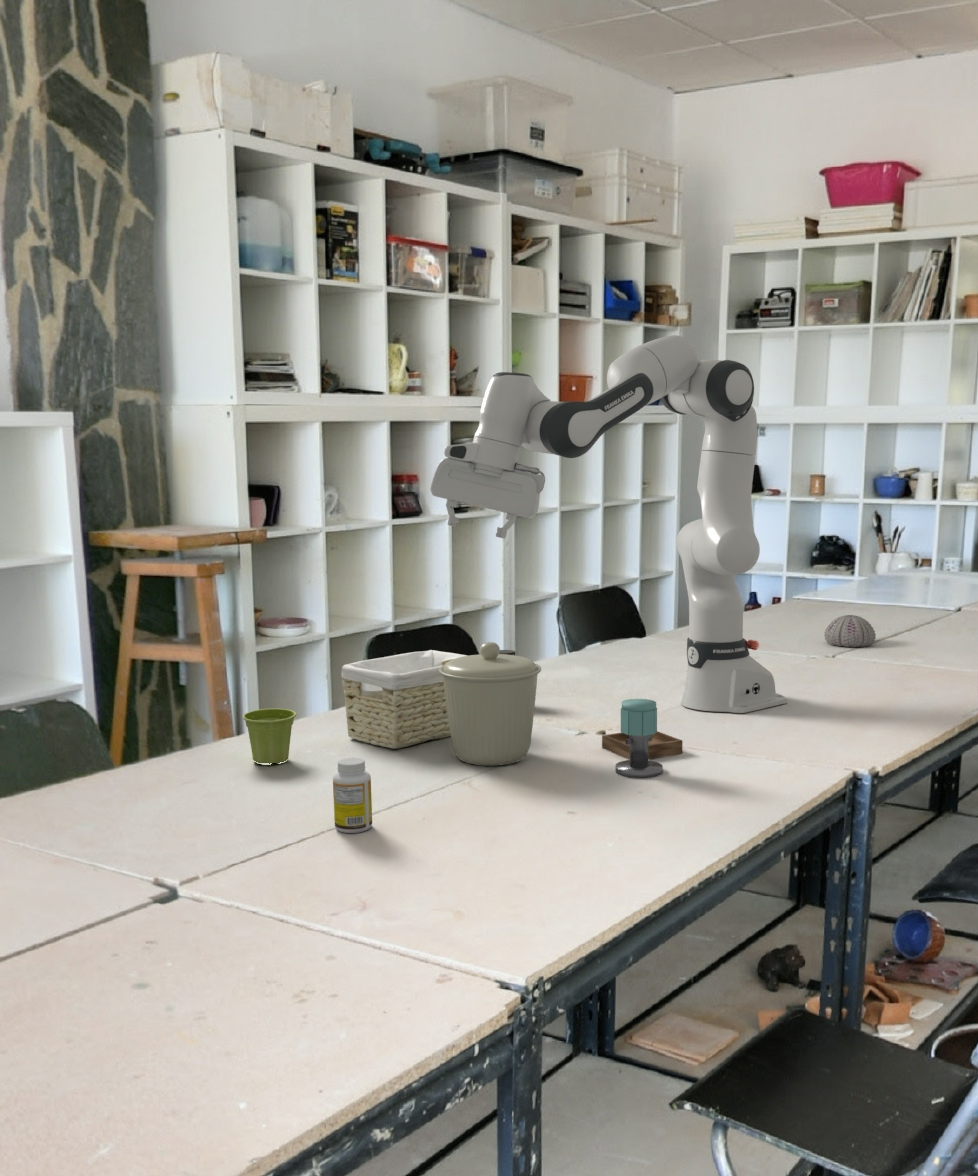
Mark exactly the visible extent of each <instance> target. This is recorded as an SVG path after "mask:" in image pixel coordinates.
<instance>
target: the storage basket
mask: <svg viewBox="0 0 978 1176" xmlns="http://www.w3.org/2000/svg"><path fill="white" fill-rule="evenodd" d="M464 656H468V655H466V654H460V653H454V652H448V651H447V652H446V651H439V650H434V649H433V650H432V649H429V650H423V651H413V652H412V651H411V652H406V653H400V654H394V655H388V656H384V657H377V658H372V659H365V660H359V661H355V662H351V663H348V664H347V663H346V664H344V665H342V667H341V679H342V680H341V682H342V688H343V694H344V700H345V702H344V705H345V712H346V713H345V715H346V716H345V717H346V724H347V725H346V726H347V727H346V729H347V734H348V735H347V736H348V737H349V738H350V739H353V740H357V741H359V742H363V743H367V744H371V745H373V746H380V747H383V748H388V749H393V750H395V749H401V748H406V747H410V746H413V745H414V746H415V745H416V744H422V743H425V742H428V741H430V740H437V739H438V740H439V739H444V738H448V737H451V734H450V727H449V721H448V713H447V705H446V698H445V690H444V681H443V676H442V675H441V674H440V673H439V668H440V667H442V666H443V665H445V664H446V663H447V662H449V661H451V660H453V659H455V658H459V657H464Z"/></svg>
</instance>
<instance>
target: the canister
mask: <svg viewBox="0 0 978 1176" xmlns="http://www.w3.org/2000/svg"><path fill="white" fill-rule="evenodd" d="M500 650H501V649H500V646H499V644H497V643H496V642H494V641H488V642H487V641H486V642H484V643H482V644H481V645H480V647H479V653H480V654H471V655H467V656H464V657H459V658H455V659H453V660H451V661H449V662H447V663H446V664H445V665H443V666H442V667H440V668H439V673H440V674H441V675H442V676H443V681H444V690H445V698H446V705H447V713H448V721H449V727H450V734H451V736H450V739H451V740H450V741H451V745H452V749H453V752H454V753H455V755H456V757H457V758H458V759H459V760H461V761H463V762H465V763H468V764H470V765H475V766H486V767H487V766H489V767H490V766H491V767H493V766H505V765H509V764H513V763H516V762H519V761H521V760H523V759H524V758H525V757H526V755H528V752H529V750H530V748H531V741H532V733H533V725H534V716H535V709H536V708H535V707H536V706H535V705H536V697H537V696H536V695H537V687H538V685H537V684H538V675H539V674H540V673H541V672H542V666H541V665H540V664H538V663H535V662H534V661H533V660H532V659H530V658H527V657H525V656H522V655H516V654H515V655H507V654H499V652H500Z"/></svg>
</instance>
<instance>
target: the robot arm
mask: <svg viewBox="0 0 978 1176" xmlns="http://www.w3.org/2000/svg"><path fill="white" fill-rule="evenodd" d="M606 383H607V388H608V389H606V390H604V391H603V392H600V393H599V394H597V395H596V396H594V397H593V398H591V399H589V400H585V401H556V400H555V401H554V400H552V401H551V399H550V398H548V396H546V395H545V394H544V393H543V391H541V390H540V389H539V388H538V386H537V384H536V382H535V381H534V377H533V375H529V374H527V373H522V372H512V371H511V372H509V371H507V372H506V371H504V372H503V371H500V372H497V373H495V374H493V375H492V376H491V377H490V380H489V381H488V383H487V385H486V387H485V388H486V389H485V390H484V391H485V392H484V394H483V398H482V402H481V406H480V410H479V413H478V416H479V424H478V427H477V429H476V431H475V433H474V436H473V439H472V442H468V443H467V442H466V443H461V444H460V443H459V444H450V445H446V446H445V448H444V452H443V453H444V457H445V458H443V459H441V460H440V461H439V463H438V464H437V466H436V469H435V472H434V474H433V477H432V481H431V483H430V492H431V494H432V496H433V497H436V498H439V499H444V500H446V504H445V507H446V510H447V513H448V521H447V526H450V527H455V528H457V527H458V525H459V522H460V517H457V516H456V513H455V510H454V508H457V505H458V503H462V504H466V505H469V506H470V505H471V506H475V507H478V508H482V509H483V508H484V509H488V510H491V511H495V512H496V511H497V512H500V513H505V514H506V515H505V516H506V517H505V520H507V521H506V523H504V525H503V526H502V527H500V526H499V527H497V529H496V532H495V537H497V538H500V539H506V536H507V534H508V530H509V529H510V528H511V527H512V526H514V524H515V523H516V521H517V516H519V517H522V518H526V519H530V520H531V519H533V518H535V517H536V516H537V514H538V511H539V505H540V499H541V498H540V496H541V495H540V494H541V492H542V491H543V490H544V486H545V483H546V476H545V474H544V473H543V471H541V470H540V468H538V467H533V466H527V465H524V464H520V463H518V461H519V458H520V453H521V448H524V449H526V450H528V451H531V452H536V453H542V454H548V455H549V454H550V455H556V456H559V457H562V458H567V459H576V458H579V457H582V456H583V455H585V454H586V453H588V452H589V451H590V450H591V449H592V448H593V446H594V445H595V444H596V443H597V441H598V440H599V439H600V437H602V435H604V434H605V433H606V432H607V431H609V430H610V429H611V428H613V427H615V426H616V425H618V424H620V423H621V422H624V421H625V420H626V419H628V418H629V417H631V416H632V415H634V414H635V413H637V412H638V411H640V410H641V409H643V408H644V407H647V406H648V405H651V404H652V403H654V402H656V401H658V400H660V401H661V403H662V405H663V406H664V407H665V408H666V409H667V410H668V411H670V412H672V413H675V414H678V415H682V416H683V415H688V416H689V415H690V416H697V417H701V418H702V420H703V423H704V427H705V428H704V429H705V430H704V434H703V439H702V444H701V451H700V461H699V467H698V477H697V483H696V488H697V493H698V495H699V499H700V505H701V506H700V507H701V518H699V519H696V520H693V521H690V522H688V523H686V524H685V525H683V527H681V529H680V530H679V532H678V534H677V536H676V542H675V543H676V549H677V550H676V551H677V553H678V554H679V556H680V559H681V563H682V569H683V574H684V581H685V585H686V590H687V596H688V597H687V598H688V616H689V618H688V624H689V625H688V632H689V633H688V634H689V635H688V637H687V639H686V657H687V671H686V672H687V673H686V680H685V681H686V682H685V686H684V691H683V694H682V698H681V701H680V704H681V706H684V707H685V708H688V709H692V710H696V711H697V710H698V711H704V712H717V713H718V712H721V713H722V712H723V713H735V714H744V713H745V714H746V713H750V712H755V711H759V710H762V709H767V708H771V707H775V706H779V705H783V704H784V705H785V704H787V703H788V702H787V701H788V700H787V697H785V696H784V695H783V694H780V693H777V692H776V683H775V679H774V676H773V673H771V671H770V670H768V669H767V668H766V667H764V666H763V665H762V664H761V663H760V662H758V661H757V660H756V659H755V658H753V657H752V656H751V654H750V651H749V650H752V651H757V650H758V649H759V648H760V642H758V640H753V639H748V640H746V639H745V638H744V635H743V632H744V631H743V630H744V602H743V598H742V596H741V595H740V593H739V590H738V587H737V581H736V576H738V575H742V574H745V573H747V572H749V571H750V570H751V569H753V568H754V566H755V565H756V564H757V562H758V559H759V557H760V551H761V550H760V548H761V547H760V543H759V539H758V537H757V535H756V533H755V528H754V518H753V505H752V489H753V488H752V487H753V481H754V471H755V464H756V455H757V448H758V447H757V445H758V422H757V421H758V420H757V411H756V410H755V408H754V407H753V401H754V397H755V395H754V394H755V384H754V379H753V375H752V372H751V370H750V369H749V368H748V367H747V366H746V364H743V363H741V362H739V361H735V360H732V359H731V360H730V359H725V360H719V359H702V360H699V359H698V354H697V352H696V349H695V348H694V345H693V344H692V343H691V342H690V341H689V340H688V339H687V338H685V337H684V336H682V335H676V334H671V335H667V336H663V337H659V338H656V339H653V340H650V341H648V342H645V343H643V344H640V345H637V346H636V347H633V348H632V349H630V350H628V351H626V352H624V353H622V354H621V355H620V356H618V357H617V358H616V359H615V360H613V361H612V362H611V363H610V364H609V366H608V369H607V374H606Z"/></svg>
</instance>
